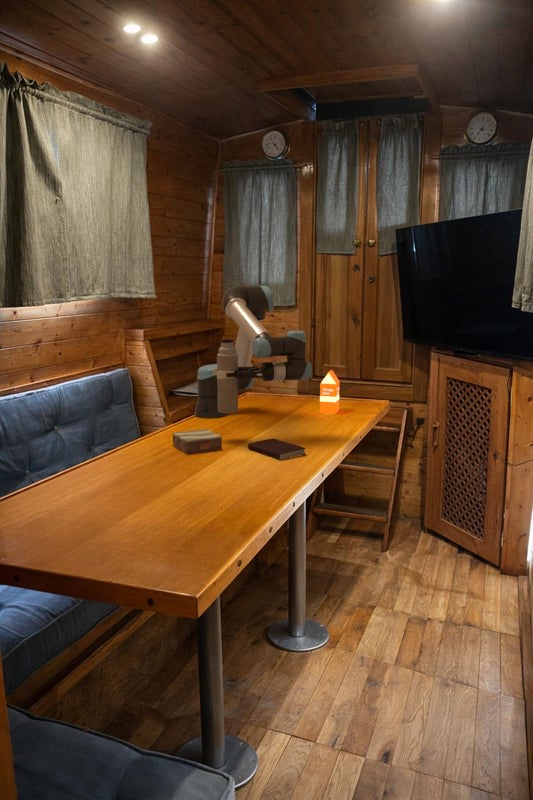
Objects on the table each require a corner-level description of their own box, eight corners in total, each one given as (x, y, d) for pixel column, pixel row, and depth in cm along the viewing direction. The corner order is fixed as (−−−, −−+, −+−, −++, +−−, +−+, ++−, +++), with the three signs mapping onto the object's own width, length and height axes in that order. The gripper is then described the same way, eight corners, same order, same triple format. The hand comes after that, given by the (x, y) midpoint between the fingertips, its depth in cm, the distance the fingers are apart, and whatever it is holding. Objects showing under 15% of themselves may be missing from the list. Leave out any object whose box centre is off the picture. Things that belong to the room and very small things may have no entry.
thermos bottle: (238, 408, 259) (238, 338, 253) (237, 413, 251) (237, 340, 245) (218, 408, 259) (218, 338, 253) (216, 413, 251) (216, 340, 246)
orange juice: (319, 413, 308) (320, 371, 304) (323, 410, 316) (324, 369, 312) (335, 414, 305) (336, 372, 302) (339, 411, 314) (340, 370, 310)
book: (278, 462, 229) (279, 453, 228) (247, 450, 244) (247, 441, 244) (306, 456, 236) (306, 447, 236) (274, 445, 252) (274, 437, 251)
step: (173, 445, 249) (172, 433, 248) (206, 441, 256) (206, 428, 255) (187, 454, 236) (187, 441, 236) (222, 449, 243) (222, 436, 242)
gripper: (279, 385, 247) (220, 387, 242) (266, 376, 267) (211, 378, 261) (279, 365, 246) (219, 367, 240) (266, 358, 265) (210, 360, 260)
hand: (215, 373), depth 251 cm, fingers closed on thermos bottle, 8 cm apart
